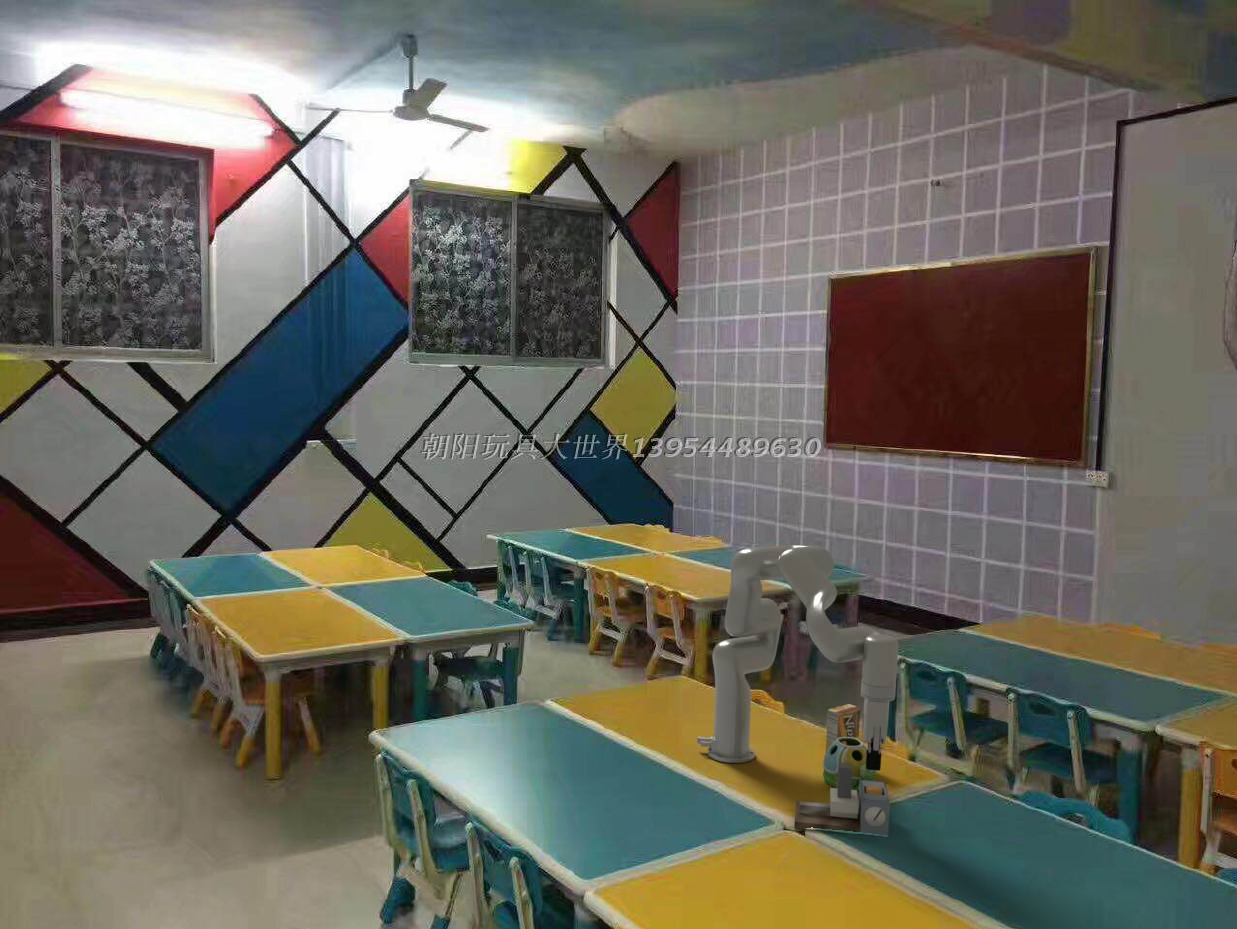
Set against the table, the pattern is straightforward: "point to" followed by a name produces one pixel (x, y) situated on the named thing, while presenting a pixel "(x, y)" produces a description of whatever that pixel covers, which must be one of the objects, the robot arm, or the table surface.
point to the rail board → (822, 818)
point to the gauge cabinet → (874, 808)
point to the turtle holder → (847, 761)
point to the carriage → (844, 794)
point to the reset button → (874, 790)
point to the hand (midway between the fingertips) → (872, 768)
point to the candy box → (842, 723)
